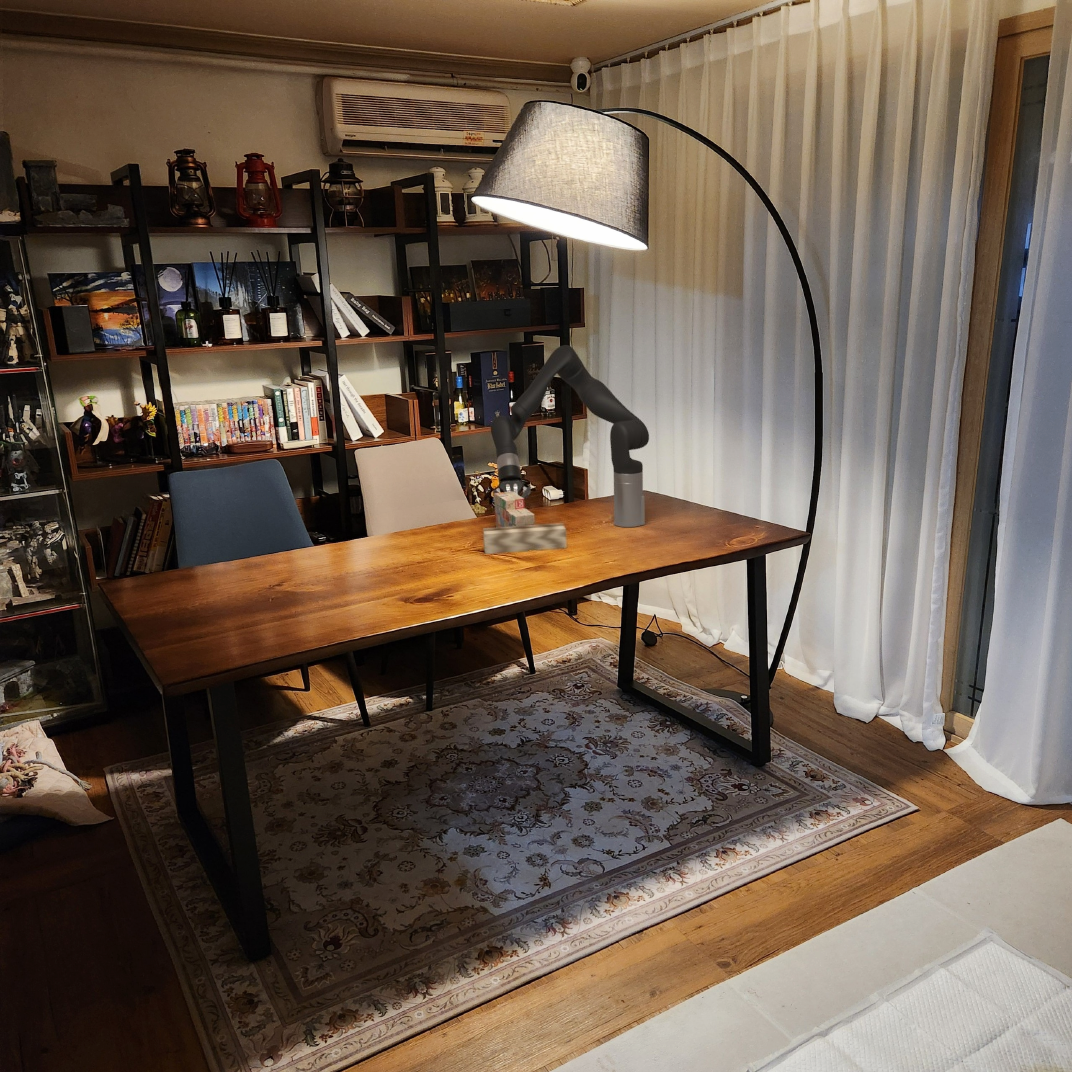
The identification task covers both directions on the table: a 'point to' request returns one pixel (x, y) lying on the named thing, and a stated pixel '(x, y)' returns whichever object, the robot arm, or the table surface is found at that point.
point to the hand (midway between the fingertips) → (514, 514)
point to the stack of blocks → (511, 510)
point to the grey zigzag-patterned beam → (524, 538)
